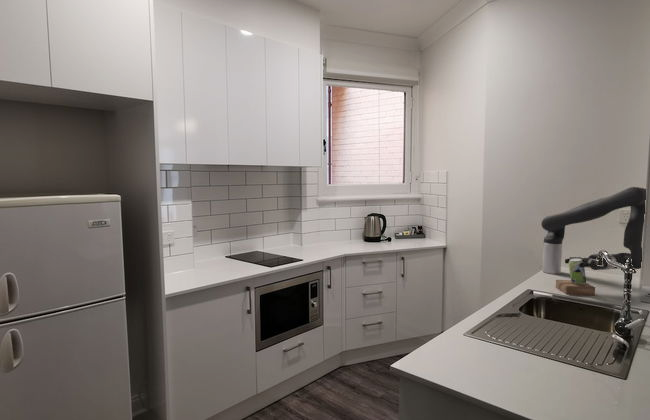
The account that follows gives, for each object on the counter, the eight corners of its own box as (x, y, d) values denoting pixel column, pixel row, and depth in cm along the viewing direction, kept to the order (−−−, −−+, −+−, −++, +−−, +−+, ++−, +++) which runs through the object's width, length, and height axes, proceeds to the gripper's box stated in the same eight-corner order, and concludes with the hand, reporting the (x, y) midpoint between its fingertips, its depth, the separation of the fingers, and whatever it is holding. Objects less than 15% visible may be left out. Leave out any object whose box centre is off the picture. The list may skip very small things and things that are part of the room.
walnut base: (555, 287, 191) (556, 279, 191) (582, 288, 189) (582, 280, 189) (566, 294, 179) (566, 286, 179) (594, 296, 177) (595, 287, 177)
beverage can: (589, 285, 180) (590, 260, 179) (573, 285, 180) (574, 260, 179) (580, 282, 186) (581, 257, 185) (565, 282, 186) (566, 257, 185)
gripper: (589, 251, 192) (561, 252, 189) (615, 257, 178) (585, 258, 175) (589, 266, 193) (560, 267, 190) (614, 272, 179) (584, 274, 176)
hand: (572, 262), depth 183 cm, fingers open, 8 cm apart
